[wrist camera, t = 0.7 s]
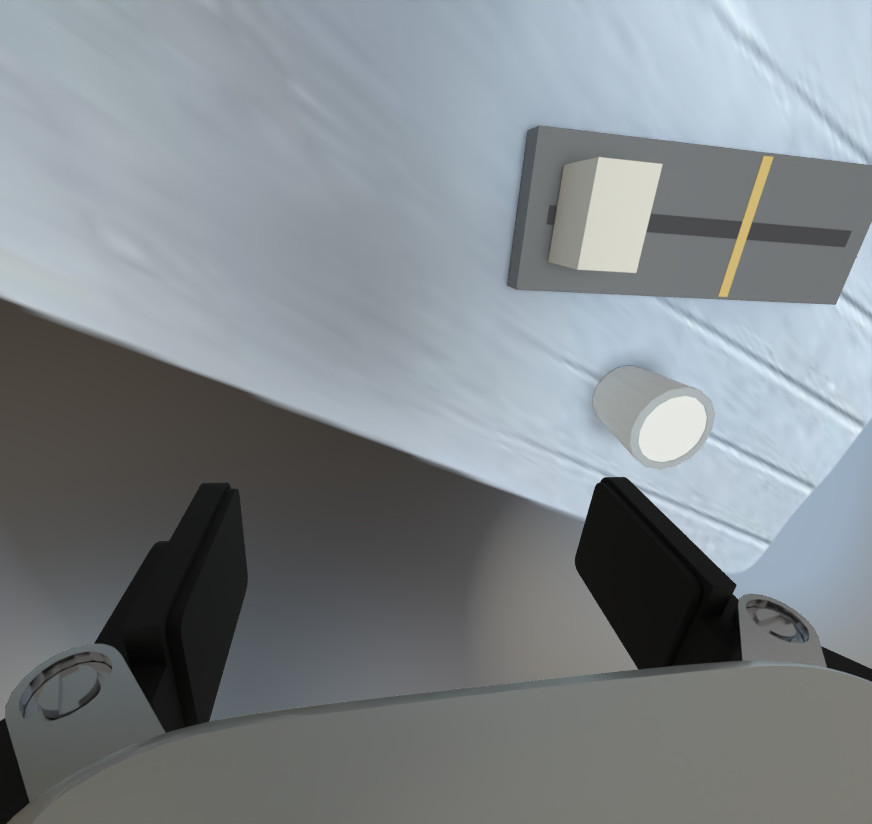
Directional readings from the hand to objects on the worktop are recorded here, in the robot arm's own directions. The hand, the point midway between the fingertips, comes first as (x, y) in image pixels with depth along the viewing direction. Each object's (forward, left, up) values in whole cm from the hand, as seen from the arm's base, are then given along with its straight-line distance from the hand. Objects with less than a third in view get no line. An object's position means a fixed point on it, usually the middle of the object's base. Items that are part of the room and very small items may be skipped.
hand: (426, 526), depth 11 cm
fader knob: (-8, +14, -22) cm, 27 cm away
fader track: (-8, +24, -24) cm, 34 cm away
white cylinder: (+6, +22, -24) cm, 33 cm away
